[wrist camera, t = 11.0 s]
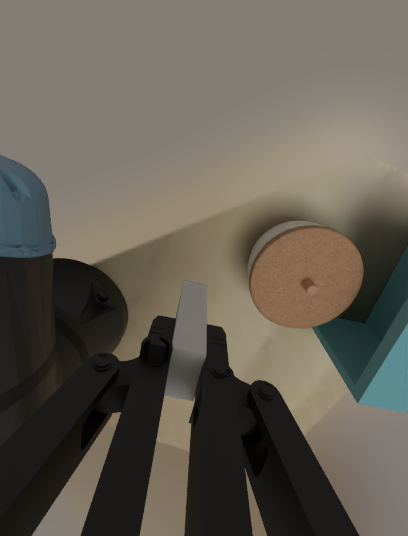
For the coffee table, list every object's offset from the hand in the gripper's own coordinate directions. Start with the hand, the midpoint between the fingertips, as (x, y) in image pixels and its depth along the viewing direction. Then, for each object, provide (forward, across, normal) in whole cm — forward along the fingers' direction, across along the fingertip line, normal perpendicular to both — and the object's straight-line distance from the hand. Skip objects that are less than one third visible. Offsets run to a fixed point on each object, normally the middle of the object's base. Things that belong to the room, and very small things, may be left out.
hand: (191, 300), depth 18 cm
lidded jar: (+16, +11, 0) cm, 19 cm away
